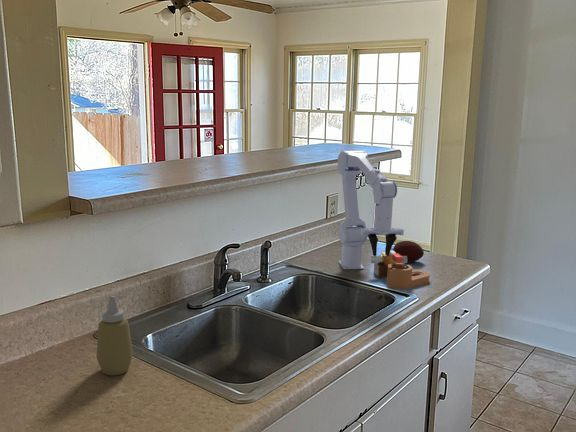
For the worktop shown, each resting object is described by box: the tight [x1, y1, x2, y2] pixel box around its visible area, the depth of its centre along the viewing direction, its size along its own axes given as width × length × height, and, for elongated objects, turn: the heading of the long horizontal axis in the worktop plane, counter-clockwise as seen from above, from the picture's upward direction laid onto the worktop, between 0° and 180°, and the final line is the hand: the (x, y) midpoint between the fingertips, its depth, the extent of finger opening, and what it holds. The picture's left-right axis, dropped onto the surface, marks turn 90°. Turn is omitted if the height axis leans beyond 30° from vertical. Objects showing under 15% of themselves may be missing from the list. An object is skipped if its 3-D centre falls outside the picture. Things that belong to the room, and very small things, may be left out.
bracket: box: [386, 263, 430, 290], centre depth 193 cm, size 18×8×7 cm, turn 127°
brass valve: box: [370, 251, 407, 279], centre depth 200 cm, size 6×13×8 cm, turn 97°
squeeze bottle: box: [96, 295, 134, 376], centre depth 125 cm, size 8×8×18 cm
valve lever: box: [389, 247, 403, 263], centre depth 194 cm, size 12×2×2 cm, turn 7°
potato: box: [393, 240, 425, 264], centre depth 218 cm, size 12×11×8 cm
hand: (380, 255), depth 189 cm, fingers open, 4 cm apart
